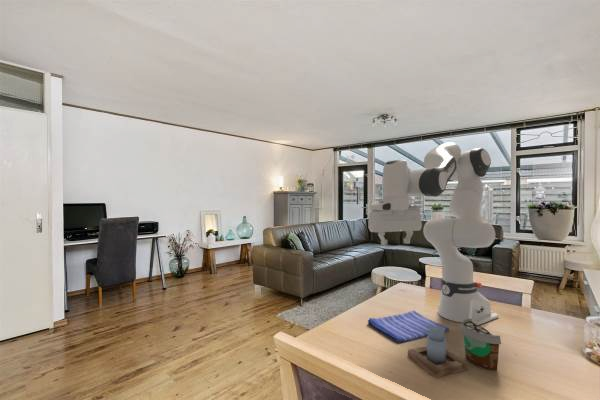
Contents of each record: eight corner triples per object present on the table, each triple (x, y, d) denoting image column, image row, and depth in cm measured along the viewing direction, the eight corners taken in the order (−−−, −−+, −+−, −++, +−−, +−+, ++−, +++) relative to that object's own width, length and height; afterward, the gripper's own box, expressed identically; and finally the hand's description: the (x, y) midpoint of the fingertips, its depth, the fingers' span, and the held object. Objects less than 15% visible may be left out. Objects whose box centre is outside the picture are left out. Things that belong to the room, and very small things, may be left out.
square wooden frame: (437, 349, 90) (437, 344, 90) (467, 369, 80) (467, 363, 80) (407, 356, 87) (407, 350, 87) (435, 377, 76) (435, 370, 76)
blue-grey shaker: (437, 354, 86) (437, 324, 86) (450, 363, 81) (450, 332, 81) (423, 356, 85) (423, 326, 85) (435, 366, 80) (435, 334, 80)
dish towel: (365, 324, 110) (365, 317, 110) (413, 314, 119) (413, 307, 119) (397, 346, 94) (397, 337, 94) (449, 332, 103) (449, 324, 103)
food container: (451, 350, 90) (451, 318, 89) (470, 349, 90) (470, 317, 90) (479, 374, 77) (479, 337, 77) (501, 373, 78) (501, 336, 78)
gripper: (413, 204, 109) (413, 241, 109) (365, 205, 102) (366, 244, 102) (425, 205, 103) (426, 243, 103) (375, 205, 96) (375, 247, 96)
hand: (395, 244), depth 102 cm, fingers open, 8 cm apart
